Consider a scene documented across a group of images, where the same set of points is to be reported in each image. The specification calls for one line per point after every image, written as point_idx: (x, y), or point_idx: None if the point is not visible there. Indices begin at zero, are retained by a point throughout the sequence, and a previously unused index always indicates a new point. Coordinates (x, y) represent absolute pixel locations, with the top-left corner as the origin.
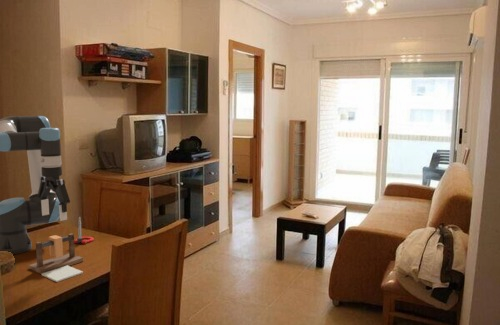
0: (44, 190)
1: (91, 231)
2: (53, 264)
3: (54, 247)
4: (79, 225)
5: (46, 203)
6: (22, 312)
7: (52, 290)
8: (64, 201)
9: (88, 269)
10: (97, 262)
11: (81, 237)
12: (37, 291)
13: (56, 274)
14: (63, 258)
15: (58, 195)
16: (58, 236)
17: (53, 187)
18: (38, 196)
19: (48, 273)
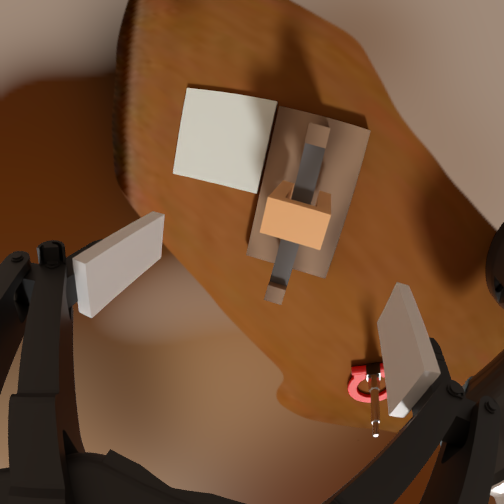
0: (375, 481)
1: (395, 428)
2: (290, 166)
3: (286, 190)
4: (374, 409)
5: (396, 372)
6: None
7: (159, 51)
8: (5, 260)
9: (183, 201)
10: (203, 256)
11: (368, 380)
12: (188, 26)
13: (225, 118)
14: None
15: (26, 322)
16: (286, 236)
17: (8, 424)
18: (486, 403)
19: (256, 112)
